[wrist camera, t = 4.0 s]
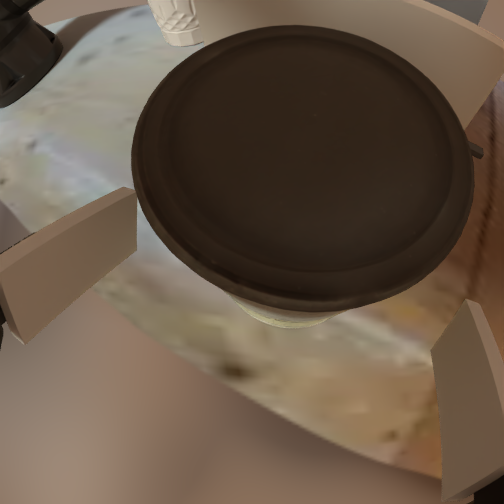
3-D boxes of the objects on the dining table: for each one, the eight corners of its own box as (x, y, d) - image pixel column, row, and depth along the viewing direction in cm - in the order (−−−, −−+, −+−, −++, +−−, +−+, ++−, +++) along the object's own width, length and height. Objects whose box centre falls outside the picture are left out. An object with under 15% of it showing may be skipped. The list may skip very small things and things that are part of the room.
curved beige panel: (231, 118, 24) (197, -34, 10) (446, 185, 21) (542, 67, 7) (225, 129, 23) (186, -27, 10) (445, 198, 20) (548, 80, 7)
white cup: (175, 19, 31) (158, -39, 22) (231, 17, 30) (221, -47, 21) (150, 51, 29) (124, -13, 20) (212, 49, 28) (195, -24, 19)
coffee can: (227, 184, 23) (177, 27, 10) (362, 193, 22) (431, 45, 9) (208, 322, 20) (89, 285, 7) (361, 333, 19) (496, 314, 6)
